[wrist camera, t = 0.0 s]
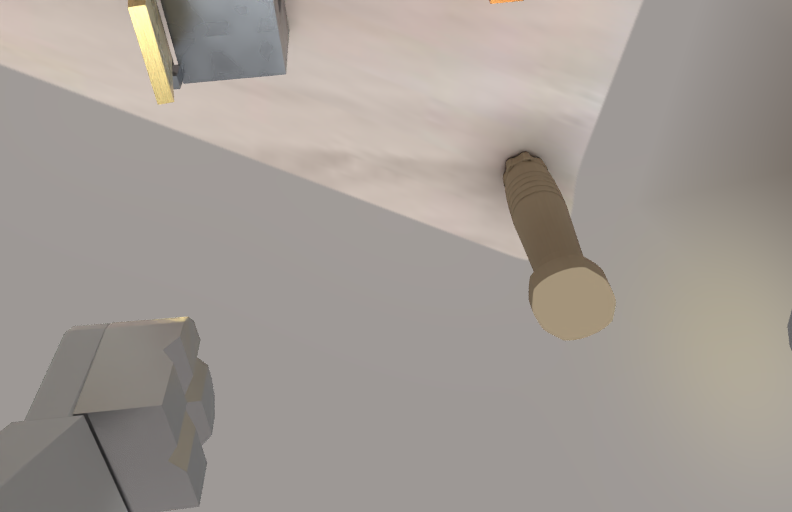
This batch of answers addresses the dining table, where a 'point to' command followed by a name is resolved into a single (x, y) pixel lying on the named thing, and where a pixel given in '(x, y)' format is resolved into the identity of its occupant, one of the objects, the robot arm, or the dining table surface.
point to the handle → (555, 255)
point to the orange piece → (501, 0)
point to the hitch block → (227, 39)
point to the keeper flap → (153, 47)
